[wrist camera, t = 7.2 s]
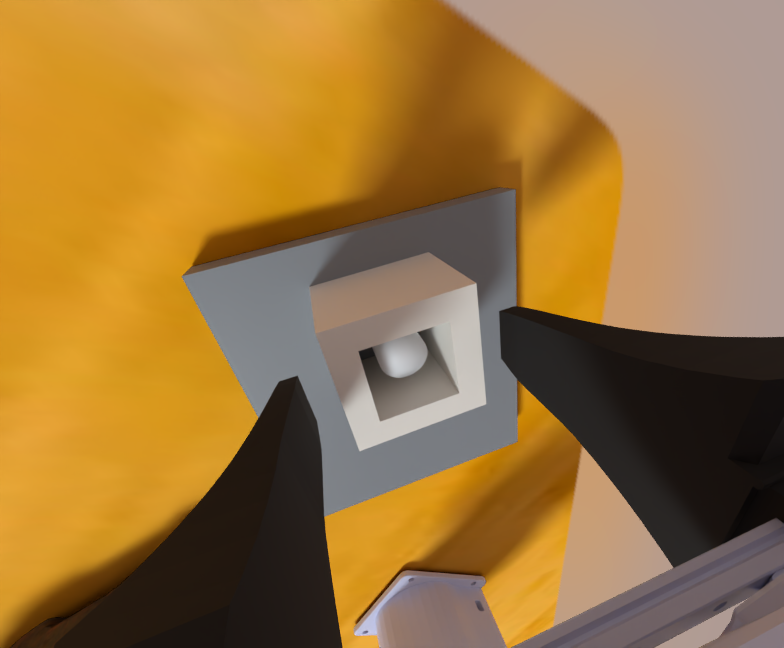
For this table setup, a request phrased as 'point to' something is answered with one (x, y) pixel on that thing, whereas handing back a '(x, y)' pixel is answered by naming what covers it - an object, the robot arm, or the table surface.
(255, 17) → the table surface
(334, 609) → the robot arm
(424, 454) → the plate
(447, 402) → the hollow square block
